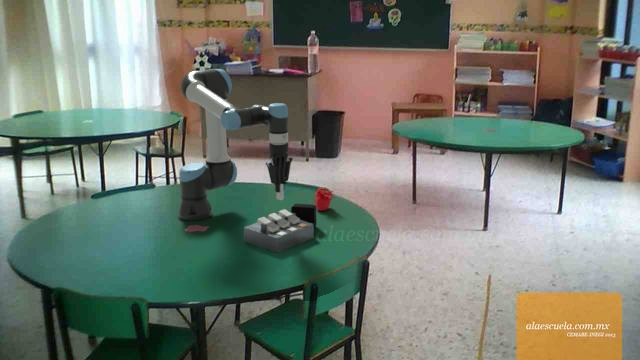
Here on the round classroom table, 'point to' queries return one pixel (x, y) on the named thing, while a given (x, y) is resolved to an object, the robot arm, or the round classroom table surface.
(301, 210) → the electronic device
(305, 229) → the console
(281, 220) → the rocker mid
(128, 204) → the round classroom table surface
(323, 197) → the heart organ
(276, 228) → the rocker near
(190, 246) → the round classroom table surface
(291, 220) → the rocker far
